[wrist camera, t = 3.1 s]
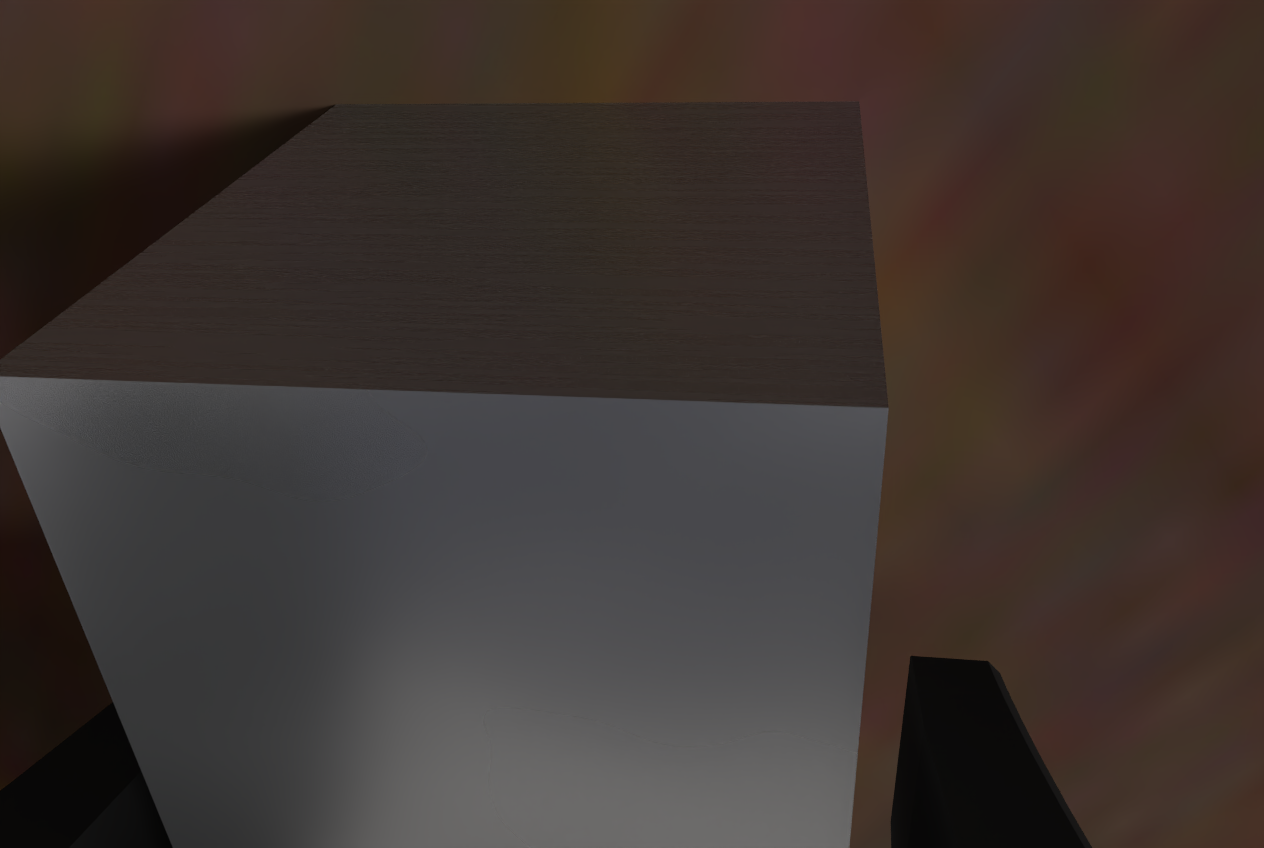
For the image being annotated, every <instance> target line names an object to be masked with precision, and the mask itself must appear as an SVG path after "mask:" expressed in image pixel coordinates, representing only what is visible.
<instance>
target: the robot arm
mask: <svg viewBox="0 0 1264 848" xmlns="http://www.w3.org/2000/svg"><path fill="white" fill-rule="evenodd" d="M0 848H173V847H172V844H171V842H170V839H169V837H168V835H167V832H166V830H165V827H164V825H163V822H162V820H161V817H160V815H159V813H158V810H157V808H156V805H155V803H154V800H153V798H152V796H151V793H150V791H149V788H148V786H147V783H146V781H145V779H144V776H143V774H142V771H141V769H140V766H139V764H138V761H137V759H136V757H135V754H134V752H133V749H132V747H131V744H130V742H129V740H128V737H127V735H126V732H125V730H124V727H123V725H122V723H121V720H120V718H119V715H118V713H117V710H116V708H115V706H114V703H113V702H112V703H111V704H110V705H109V706H107V707H106V708H105V709H104V710H102V711H101V712H100V713H99V714H97V715H96V716H95V717H94V718H92V719H91V720H90V721H89V722H87V723H86V724H85V725H83V726H82V727H81V728H80V729H78V730H77V731H76V732H75V733H73V734H72V735H71V736H70V737H68V738H67V739H66V740H64V741H63V742H62V743H61V744H59V745H58V746H57V747H56V748H54V749H53V750H52V751H51V752H49V753H48V754H47V755H45V756H44V757H43V758H42V759H40V760H39V761H38V762H37V763H35V764H34V765H33V766H32V767H30V768H29V769H28V770H26V771H25V772H24V773H23V774H21V775H20V776H19V777H18V778H16V779H15V780H14V781H12V782H11V783H10V784H9V785H7V786H6V787H5V788H3V789H2V790H1V791H0ZM891 848H1092V847H1091V845H1090V843H1089V842H1088V840H1087V838H1086V837H1085V835H1084V833H1083V831H1082V830H1081V828H1080V826H1079V825H1078V823H1077V821H1076V819H1075V818H1074V816H1073V814H1072V813H1071V811H1070V809H1069V807H1068V806H1067V804H1066V802H1065V800H1064V798H1063V797H1062V795H1061V793H1060V791H1059V789H1058V787H1057V786H1056V784H1055V782H1054V780H1053V778H1052V777H1051V775H1050V773H1049V771H1048V769H1047V768H1046V766H1045V764H1044V762H1043V760H1042V758H1041V756H1040V755H1039V753H1038V751H1037V749H1036V747H1035V745H1034V743H1033V741H1032V739H1031V737H1030V735H1029V733H1028V731H1027V729H1026V727H1025V726H1024V724H1023V722H1022V720H1021V718H1020V715H1019V713H1018V711H1017V709H1016V707H1015V705H1014V703H1013V701H1012V699H1011V697H1010V695H1009V693H1008V690H1007V688H1006V686H1005V684H1004V681H1003V679H1002V677H1001V675H1000V673H999V672H998V671H997V670H996V669H995V668H994V667H993V666H992V665H991V664H990V663H989V662H988V661H978V660H963V659H948V658H933V657H918V656H911V657H910V665H909V674H908V682H907V690H906V699H905V707H904V715H903V724H902V732H901V740H900V749H899V757H898V765H897V774H896V782H895V791H894V799H893V807H892V816H891Z"/></svg>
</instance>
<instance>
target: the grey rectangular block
mask: <svg viewBox="0 0 1264 848" xmlns="http://www.w3.org/2000/svg"><path fill="white" fill-rule="evenodd" d="M887 419H888V398H887V387H886V377H885V366H884V356H883V345H882V335H881V324H880V314H879V303H878V293H877V283H876V272H875V262H874V251H873V241H872V230H871V220H870V209H869V199H868V188H867V178H866V167H865V157H864V146H863V136H862V125H861V115H860V104H859V102H686V103H511V104H337V105H335V106H333V107H332V108H331V109H329V110H328V111H327V112H326V113H324V114H323V115H322V116H320V117H319V118H318V119H316V120H315V121H314V122H312V123H311V124H310V125H308V126H307V127H306V128H304V129H303V130H302V131H300V132H299V133H298V134H297V135H295V136H294V137H293V138H291V139H290V140H289V141H287V142H286V143H285V144H283V145H282V146H281V147H279V148H278V149H277V150H275V151H274V152H273V153H272V154H270V155H269V156H268V157H266V158H265V159H264V160H262V161H261V162H260V163H258V164H257V165H256V166H254V167H253V168H252V169H250V170H249V171H248V172H247V173H245V174H244V175H243V176H241V177H240V178H239V179H237V180H236V181H235V182H233V183H232V184H231V185H229V186H228V187H227V188H225V189H224V190H223V191H222V192H220V193H219V194H218V195H216V196H215V197H214V198H212V199H211V200H210V201H208V202H207V203H206V204H204V205H203V206H202V207H200V208H199V209H198V210H197V211H195V212H194V213H193V214H191V215H190V216H189V217H187V218H186V219H185V220H183V221H182V222H181V223H179V224H178V225H177V226H175V227H174V228H173V229H171V230H170V231H169V232H168V233H166V234H165V235H164V236H162V237H161V238H160V239H158V240H157V241H156V242H154V243H153V244H152V245H150V246H149V247H148V248H146V249H145V250H144V251H143V252H141V253H140V254H139V255H137V256H136V257H135V258H133V259H132V260H131V261H129V262H128V263H127V264H125V265H124V266H123V267H121V268H120V269H119V270H118V271H116V272H115V273H114V274H112V275H111V276H110V277H108V278H107V279H106V280H104V281H103V282H102V283H100V284H99V285H98V286H96V287H95V288H94V289H93V290H91V291H90V292H89V293H87V294H86V295H85V296H83V297H82V298H81V299H79V300H78V301H77V302H75V303H74V304H73V305H71V306H70V307H69V308H67V309H66V310H65V311H64V312H62V313H61V314H60V315H58V316H57V317H56V318H54V319H53V320H52V321H50V322H49V323H48V324H46V325H45V326H44V327H42V328H41V329H40V330H39V331H37V332H36V333H35V334H33V335H32V336H31V337H29V338H28V339H27V340H25V341H24V342H23V343H21V344H20V345H19V346H17V347H16V348H15V349H14V350H12V351H11V352H10V353H8V354H7V355H6V356H4V357H3V358H2V359H0V428H1V430H2V433H3V435H4V438H5V440H6V443H7V445H8V448H9V450H10V452H11V455H12V457H13V460H14V462H15V465H16V467H17V469H18V472H19V474H20V477H21V479H22V482H23V484H24V486H25V489H26V491H27V494H28V496H29V499H30V501H31V503H32V506H33V508H34V511H35V513H36V516H37V518H38V521H39V523H40V525H41V528H42V530H43V533H44V535H45V538H46V540H47V542H48V545H49V547H50V550H51V552H52V555H53V557H54V559H55V562H56V564H57V567H58V569H59V572H60V574H61V577H62V579H63V581H64V584H65V586H66V589H67V591H68V594H69V596H70V598H71V601H72V603H73V606H74V608H75V611H76V613H77V615H78V618H79V620H80V623H81V625H82V628H83V630H84V632H85V635H86V637H87V640H88V642H89V645H90V647H91V650H92V652H93V654H94V657H95V659H96V662H97V664H98V667H99V669H100V671H101V674H102V676H103V679H104V681H105V684H106V686H107V688H108V691H109V693H110V696H111V698H112V701H113V703H114V706H115V708H116V710H117V713H118V715H119V718H120V720H121V723H122V725H123V727H124V730H125V732H126V735H127V737H128V740H129V742H130V744H131V747H132V749H133V752H134V754H135V757H136V759H137V761H138V764H139V766H140V769H141V771H142V774H143V776H144V779H145V781H146V783H147V786H148V788H149V791H150V793H151V796H152V798H153V800H154V803H155V805H156V808H157V810H158V813H159V815H160V817H161V820H162V822H163V825H164V827H165V830H166V832H167V835H168V837H169V839H170V842H171V844H172V847H173V848H849V844H850V832H851V821H852V810H853V799H854V788H855V777H856V765H857V754H858V743H859V732H860V721H861V709H862V698H863V687H864V676H865V665H866V654H867V642H868V631H869V620H870V609H871V598H872V587H873V575H874V564H875V553H876V542H877V531H878V519H879V508H880V497H881V486H882V475H883V464H884V452H885V441H886V430H887Z"/></svg>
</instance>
